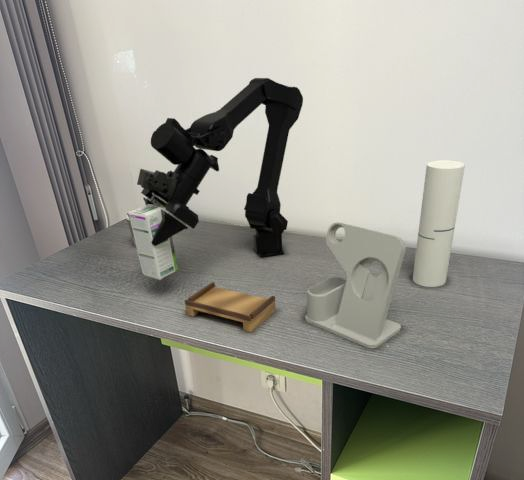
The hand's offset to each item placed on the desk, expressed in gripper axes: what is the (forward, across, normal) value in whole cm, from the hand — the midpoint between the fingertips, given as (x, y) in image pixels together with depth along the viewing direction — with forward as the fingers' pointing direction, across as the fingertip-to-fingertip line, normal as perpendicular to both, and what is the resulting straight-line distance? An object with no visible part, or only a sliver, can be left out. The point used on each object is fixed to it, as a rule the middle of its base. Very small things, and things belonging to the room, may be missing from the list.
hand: (147, 239), depth 105 cm
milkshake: (+5, -34, +14) cm, 37 cm away
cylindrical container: (-28, +30, +48) cm, 63 cm away
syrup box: (+5, 0, +7) cm, 8 cm away
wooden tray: (+3, +17, +16) cm, 24 cm away
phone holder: (-10, +35, +29) cm, 46 cm away
